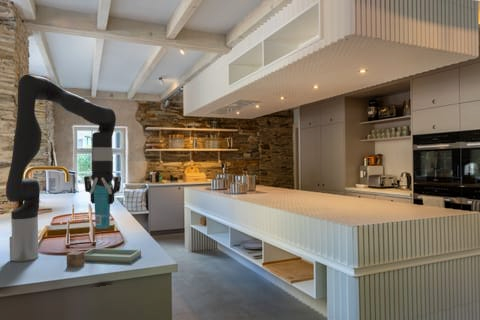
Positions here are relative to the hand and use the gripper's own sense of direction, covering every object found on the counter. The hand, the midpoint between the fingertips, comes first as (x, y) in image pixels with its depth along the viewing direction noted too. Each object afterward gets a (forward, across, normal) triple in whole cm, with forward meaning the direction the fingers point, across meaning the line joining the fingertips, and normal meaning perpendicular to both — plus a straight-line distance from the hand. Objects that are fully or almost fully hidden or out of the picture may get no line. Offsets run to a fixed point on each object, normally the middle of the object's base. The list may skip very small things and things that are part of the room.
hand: (102, 203), depth 129 cm
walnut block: (+25, -12, +1) cm, 27 cm away
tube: (+9, 0, 0) cm, 9 cm away
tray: (+25, -3, +11) cm, 27 cm away
